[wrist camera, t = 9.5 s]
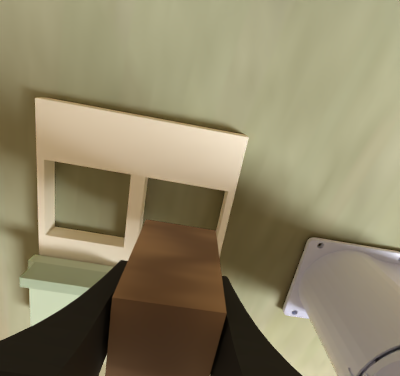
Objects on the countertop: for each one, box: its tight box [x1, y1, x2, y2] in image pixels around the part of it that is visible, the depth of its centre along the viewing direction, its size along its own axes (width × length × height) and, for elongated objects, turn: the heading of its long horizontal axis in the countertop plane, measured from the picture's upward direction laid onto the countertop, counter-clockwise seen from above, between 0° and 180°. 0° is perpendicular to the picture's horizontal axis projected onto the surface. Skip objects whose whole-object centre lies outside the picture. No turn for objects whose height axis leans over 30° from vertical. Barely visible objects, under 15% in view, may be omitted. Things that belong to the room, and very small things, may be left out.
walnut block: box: [105, 219, 227, 376], centre depth 12 cm, size 4×4×6 cm
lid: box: [19, 254, 113, 326], centre depth 20 cm, size 8×8×3 cm
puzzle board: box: [35, 98, 249, 267], centre depth 21 cm, size 14×20×1 cm
